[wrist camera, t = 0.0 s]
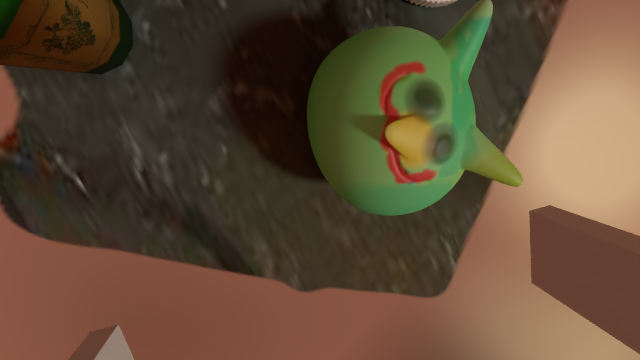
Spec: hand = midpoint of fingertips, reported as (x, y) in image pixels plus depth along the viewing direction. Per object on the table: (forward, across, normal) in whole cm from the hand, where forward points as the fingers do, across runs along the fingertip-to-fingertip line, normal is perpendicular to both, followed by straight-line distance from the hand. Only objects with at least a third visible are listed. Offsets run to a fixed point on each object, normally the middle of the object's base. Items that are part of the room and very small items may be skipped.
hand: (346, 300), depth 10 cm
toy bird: (+28, +11, +2) cm, 30 cm away
